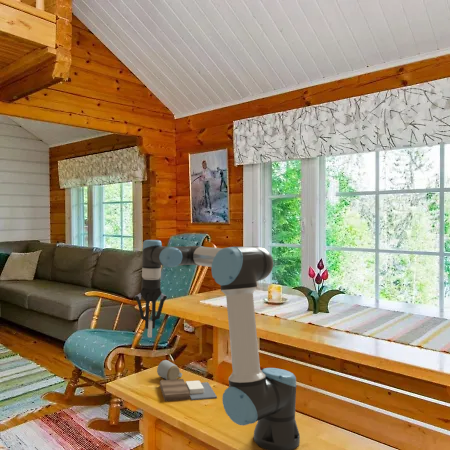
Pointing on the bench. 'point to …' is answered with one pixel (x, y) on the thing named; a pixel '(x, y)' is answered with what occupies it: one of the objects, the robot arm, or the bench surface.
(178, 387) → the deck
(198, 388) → the white rectangular block
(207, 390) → the mat
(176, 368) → the ceramic mug
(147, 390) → the bench surface
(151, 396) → the bench surface
